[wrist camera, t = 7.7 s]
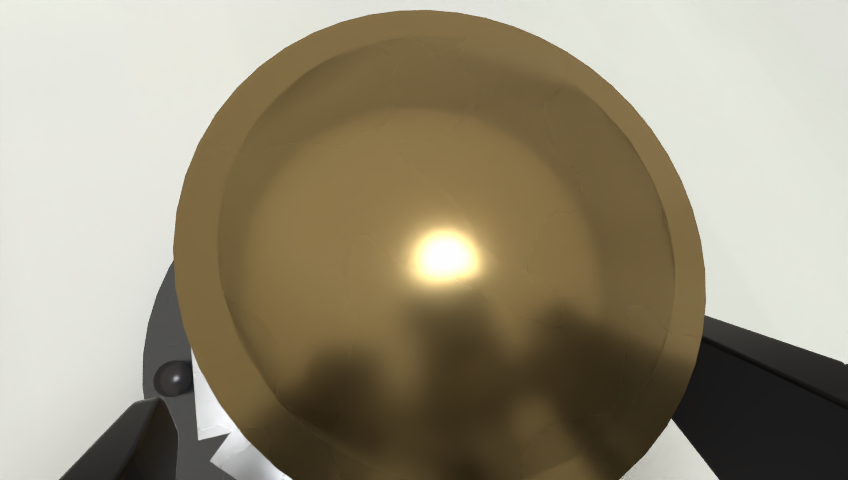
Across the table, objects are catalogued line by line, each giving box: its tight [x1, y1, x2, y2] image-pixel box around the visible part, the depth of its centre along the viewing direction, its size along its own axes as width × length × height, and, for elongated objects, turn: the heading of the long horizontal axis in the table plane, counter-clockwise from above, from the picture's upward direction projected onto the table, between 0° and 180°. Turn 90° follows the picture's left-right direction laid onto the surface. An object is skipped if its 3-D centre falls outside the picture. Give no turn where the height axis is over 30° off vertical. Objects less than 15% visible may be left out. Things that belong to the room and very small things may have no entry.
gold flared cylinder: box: [173, 10, 706, 480], centre depth 11 cm, size 6×6×13 cm
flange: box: [143, 261, 292, 480], centre depth 17 cm, size 16×16×2 cm
